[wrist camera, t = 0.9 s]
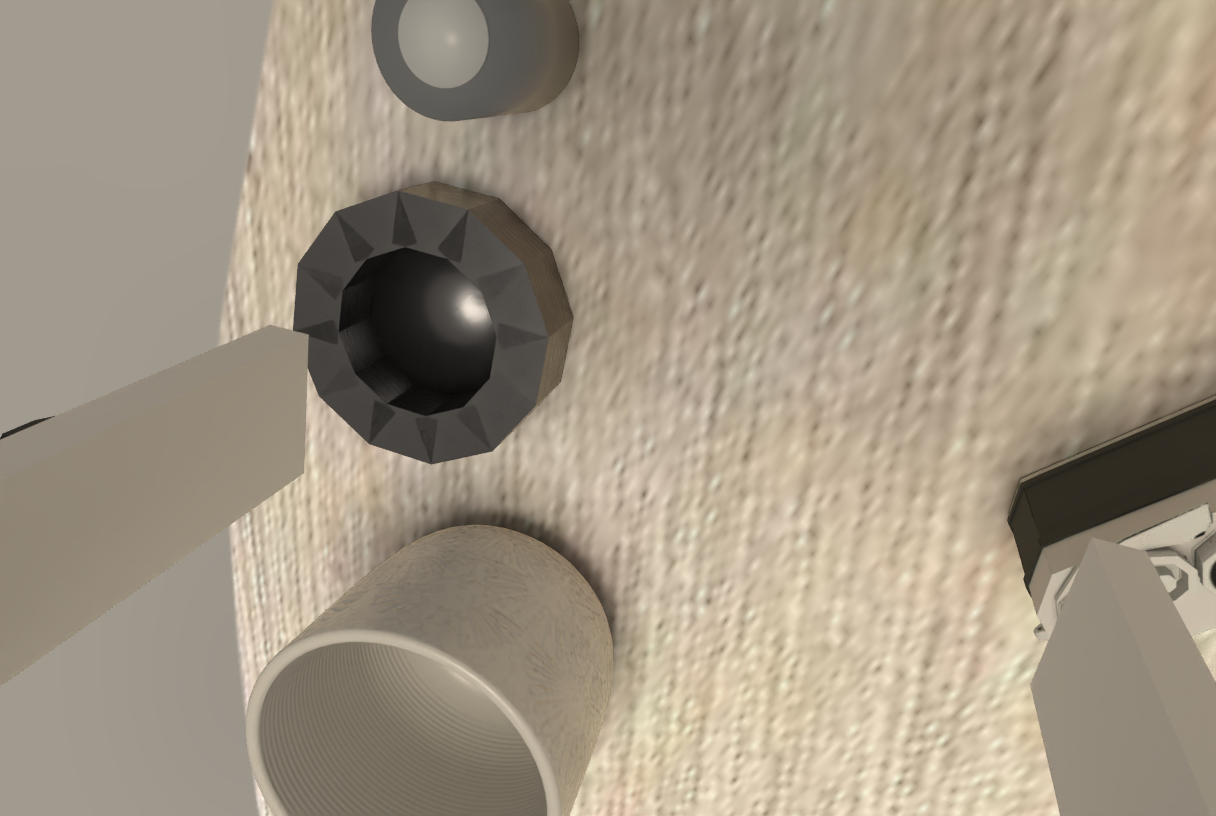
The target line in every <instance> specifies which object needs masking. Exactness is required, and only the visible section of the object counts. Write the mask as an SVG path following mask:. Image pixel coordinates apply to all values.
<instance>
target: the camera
mask: <svg viewBox="0 0 1216 816" xmlns="http://www.w3.org/2000/svg"><path fill="white" fill-rule="evenodd" d="M1007 521H1008V524H1009V526H1010V528H1011V530H1012V532H1013V534H1014V537H1015V541H1016V544H1017V548H1018V552H1019V555H1020V559H1021V562H1022V566H1023V570H1024V573H1025V576H1024V578H1023V579H1024V583H1025V586H1026V589H1027V591H1028V593H1029V594H1030V596H1031V598H1032V600H1033V604H1034V607H1035V611H1036V614H1037V617H1038V618H1039V620H1040V622H1041V624H1039V625H1038V626H1037V627H1036V628H1035V629H1034V634H1035V636H1036V637H1037V638H1038V639H1039V640H1040V641H1049V639H1050V636H1051V634H1052V631H1053V629H1054V627H1055V624H1056V622H1057V619H1058V617H1059V615H1060V612H1061V610H1062V607H1063V605H1064V603H1065V600H1066V598H1067V595H1068V593H1069V591H1070V588H1071V586H1072V583H1073V581H1074V578H1075V576H1076V574H1077V571H1078V569H1079V566H1080V564H1081V562H1082V559H1083V557H1084V554H1085V552H1086V550H1087V547H1088V545H1089V542H1090V540H1091V538H1092V537H1093V538H1096V539H1100V540H1104V541H1108V542H1112V543H1116V544H1120V545H1123V546H1127V547H1131V548H1135V549H1139V550H1143V551H1146V552H1147V554H1148V556H1149V557H1150V559H1151V561H1152V563H1153V565H1154V567H1155V569H1156V571H1157V573H1158V574H1159V576H1160V578H1161V580H1162V582H1163V584H1164V586H1165V588H1166V590H1167V591H1168V593H1169V595H1170V597H1171V599H1172V601H1173V603H1174V605H1175V607H1176V608H1177V610H1178V612H1179V614H1180V616H1181V618H1182V620H1183V622H1184V624H1185V626H1186V627H1187V629H1188V631H1189V633H1190V635H1191V636H1193V635H1196V634H1199V633H1202V632H1205V631H1208V630H1211V629H1214V628H1216V395H1215V396H1213V397H1210V398H1208V399H1206V400H1203V401H1201V402H1199V403H1196V404H1194V405H1192V406H1189V407H1187V408H1185V409H1182V410H1180V411H1178V412H1175V413H1173V414H1171V415H1168V416H1166V417H1164V418H1161V419H1159V420H1157V421H1154V422H1152V423H1150V424H1147V425H1145V426H1143V427H1140V428H1138V429H1136V430H1133V431H1131V432H1129V433H1126V434H1124V435H1122V436H1119V437H1117V438H1115V439H1112V440H1110V441H1108V442H1105V443H1103V444H1101V445H1098V446H1096V447H1094V448H1091V449H1089V450H1087V451H1084V452H1082V453H1080V454H1077V455H1075V456H1073V457H1070V458H1068V459H1066V460H1063V461H1061V462H1059V463H1056V464H1054V465H1052V466H1049V467H1047V468H1045V469H1043V470H1040V471H1038V472H1036V473H1033V474H1031V475H1029V476H1026V477H1024V478H1022V479H1021V480H1020V483H1019V485H1018V488H1017V491H1016V494H1015V496H1014V499H1013V502H1012V505H1011V507H1010V510H1009V516H1008V519H1007Z"/></svg>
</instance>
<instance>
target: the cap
mask: <svg viewBox="0 0 1216 816" xmlns="http://www.w3.org/2000/svg"><path fill="white" fill-rule="evenodd" d="M371 32H372V44H373V49H374V54H375V57H376V61H377V64H378V66H379V69H380V71H381V74H382V75H383V77H384V79H385V81H386V83H387V84H388V86H389V87H390V88H391V90H392V91H393V93H394V94H395V95H396V96H397V97H398V98H399V99H400V100H401V101H402V102H403V103H404V104H406V105H407V106H408V107H409V108H411V109H412V110H414V111H415V112H417V113H419V114H421V115H423V116H425V117H428V118H432V119H435V120H440V121H460V120H468V119H476V118H484V117H492V116H500V115H508V114H516V113H524V112H530V111H533V110H536V109H539V108H541V107H543V106H545V105H547V104H548V103H550V102H551V101H552V100H554V99H555V98H556V97H557V96H558V95H559V94H560V93H561V92H562V91H563V89H564V88H565V86H566V85H567V84H568V82H569V80H570V78H571V76H572V74H573V71H574V69H575V66H576V62H577V58H578V51H579V33H578V26H577V22H576V18H575V15H574V12H573V10H572V7H571V5H570V4H569V2H568V0H376V2H375V5H374V9H373V16H372V29H371Z"/></svg>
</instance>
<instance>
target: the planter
mask: <svg viewBox="0 0 1216 816" xmlns="http://www.w3.org/2000/svg"><path fill="white" fill-rule="evenodd" d="M613 659H614V656H613V642H612V637H611V632H610V628H609V624H608V621H607V618H606V615H605V612H604V610H603V608H602V605H601V603H600V601H599V599H598V598H597V596H596V594H595V592H594V591H593V589H592V588H591V586H590V585H589V584H588V582H587V581H586V579H585V578H584V577H583V576H582V575H581V574H580V572H579V571H578V570H577V569H576V568H575V567H574V566H573V565H572V564H571V563H570V562H569V561H567V560H566V559H565V558H564V557H563V556H561V555H560V554H559V553H558V552H556V551H555V550H553V549H552V548H550V547H549V546H547V545H545V544H544V543H542V542H540V541H538V540H537V539H534V538H532V537H530V536H528V535H526V534H523V533H520V532H517V531H514V530H511V529H507V528H503V527H497V526H490V525H464V526H456V527H450V528H446V529H443V530H439V531H436V532H434V533H431V534H429V535H426V536H424V537H422V538H420V539H418V540H416V541H414V542H412V543H411V544H409V545H407V546H405V547H404V548H402V549H401V550H399V551H398V552H396V553H395V554H394V555H392V556H391V557H389V558H388V559H387V560H385V561H384V562H383V563H381V564H380V565H379V566H377V567H376V568H375V569H374V570H372V571H371V572H370V573H369V574H368V575H366V576H365V577H364V578H363V579H361V580H360V581H359V582H358V583H357V584H355V585H354V586H353V587H352V588H351V589H350V590H349V591H347V592H346V593H345V594H344V595H343V596H342V597H341V598H339V599H338V600H337V601H336V602H335V603H334V604H333V605H332V606H330V607H329V608H328V609H327V610H326V611H325V612H324V613H322V614H321V615H320V616H319V617H318V618H317V619H316V620H315V621H314V622H312V623H311V624H310V625H309V626H308V627H307V628H306V629H305V630H304V631H302V632H301V633H300V634H299V635H298V636H297V637H296V638H295V639H294V640H292V641H291V642H290V643H289V644H288V645H287V646H286V647H285V648H284V649H282V650H281V651H280V652H279V653H278V654H277V655H276V656H275V657H274V658H273V659H272V660H271V661H270V662H269V663H268V664H267V666H266V667H265V668H264V670H263V671H262V672H261V674H260V675H259V677H258V679H257V681H256V683H255V685H254V687H253V690H252V693H251V696H250V699H249V703H248V708H247V715H246V743H247V749H248V755H249V759H250V763H251V767H252V770H253V773H254V776H255V779H256V781H257V784H258V786H259V788H260V790H261V792H262V795H263V797H264V798H265V800H266V802H267V804H268V805H269V807H270V809H271V811H272V812H273V814H274V815H275V816H569V815H570V813H571V810H572V807H573V805H574V802H575V799H576V797H577V794H578V791H579V789H580V786H581V783H582V780H583V778H584V775H585V772H586V769H587V767H588V764H589V761H590V759H591V756H592V753H593V750H594V747H595V744H596V741H597V738H598V735H599V732H600V729H601V726H602V722H603V719H604V715H605V711H606V708H607V704H608V700H609V695H610V690H611V685H612V678H613Z"/></svg>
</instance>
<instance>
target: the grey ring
mask: <svg viewBox="0 0 1216 816" xmlns="http://www.w3.org/2000/svg"><path fill="white" fill-rule="evenodd" d="M572 322H573V315H572V312H571V309H570V306H569V303H568V300H567V297H566V294H565V291H564V287H563V284H562V281H561V278H560V275H559V272H558V269H557V266H556V263H555V260H554V257H553V254H552V250H551V249H550V248H549V247H548V246H547V245H546V244H545V243H544V242H543V241H542V240H541V239H540V238H539V237H538V236H537V235H536V234H535V233H534V232H533V231H532V230H531V229H530V228H529V227H528V226H527V225H526V224H525V223H523V222H522V221H521V220H520V219H519V218H518V217H517V216H516V215H515V214H514V213H513V212H512V211H511V210H510V209H509V208H508V207H507V206H506V205H505V204H504V203H503V202H502V201H501V200H500V199H498V198H494V197H490V196H486V195H483V194H479V193H475V192H471V191H468V190H464V189H460V188H456V187H453V186H449V185H445V184H442V183H438V182H430V183H426V184H422V185H418V186H414V187H410V188H406V189H402V190H398V191H395V192H392V193H389V194H386V195H383V196H380V197H377V198H374V199H371V200H368V201H366V202H363V203H360V204H357V205H354V206H351V207H348V208H345V209H342V210H339V211H336V212H335V213H334V214H333V216H332V217H331V219H330V220H329V221H328V223H327V224H326V226H325V227H324V228H323V230H322V231H321V233H320V234H319V235H318V237H317V238H316V240H315V241H314V242H313V244H312V245H311V246H310V248H309V249H308V251H307V252H306V253H305V255H304V256H303V258H302V259H301V260H300V262H299V263H298V269H297V283H296V296H295V310H294V323H293V331H296V332H300V333H304V334H308V335H309V340H308V370H309V372H310V375H311V377H312V380H313V382H314V385H315V387H316V390H317V392H318V395H319V396H320V397H321V398H322V399H323V400H324V401H325V402H326V403H327V404H328V405H329V406H330V407H331V408H332V409H333V410H334V411H335V412H336V413H337V414H338V415H339V416H340V417H341V418H343V419H344V420H345V421H346V422H347V423H348V424H349V425H350V426H351V427H352V428H353V429H354V430H355V431H356V432H357V433H358V434H359V435H360V436H361V437H362V438H363V439H364V440H365V441H367V442H368V443H369V444H371V445H374V446H377V447H380V448H383V449H386V450H389V451H392V452H395V453H398V454H401V455H404V456H408V457H411V458H414V459H417V460H420V461H423V462H426V463H429V464H435V463H440V462H445V461H449V460H454V459H459V458H463V457H468V456H473V455H478V454H482V453H487V452H492V451H493V450H494V449H495V448H496V447H497V446H498V445H499V444H500V443H501V442H502V441H503V440H504V439H505V438H506V437H507V436H508V435H509V434H511V433H512V432H513V431H514V430H515V429H516V428H517V427H518V426H519V425H520V424H521V423H522V422H523V420H524V419H525V418H526V417H527V416H528V415H529V414H530V413H531V412H532V411H533V410H534V409H535V408H536V407H537V406H538V405H539V404H540V403H541V402H542V401H543V400H544V399H545V398H546V397H547V396H548V394H549V393H550V392H551V391H552V390H553V389H554V388H555V387H556V386H557V385H558V384H559V383H560V382H561V377H562V372H563V367H564V362H565V357H566V352H567V347H568V342H569V337H570V332H571V327H572Z"/></svg>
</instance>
